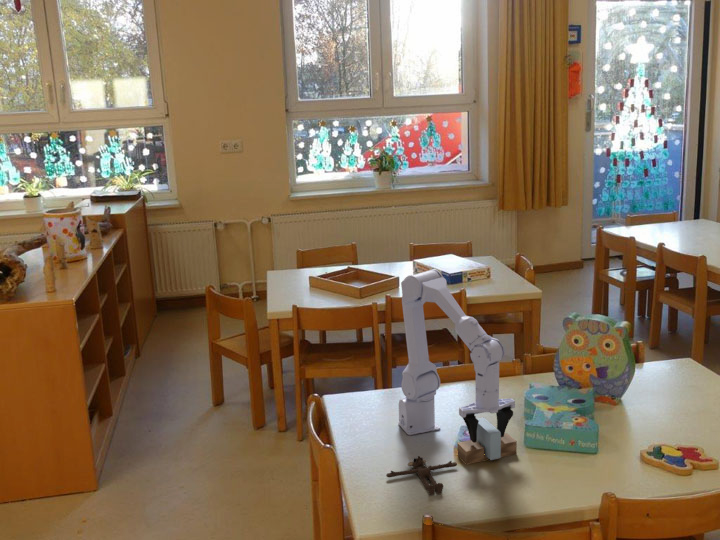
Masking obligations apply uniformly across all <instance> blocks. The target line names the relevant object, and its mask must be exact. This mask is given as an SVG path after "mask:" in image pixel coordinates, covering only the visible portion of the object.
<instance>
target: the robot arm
mask: <svg viewBox="0 0 720 540" xmlns="http://www.w3.org/2000/svg"><path fill="white" fill-rule="evenodd" d="M400 285H401V286H400V287H401V293H402V296H401V304H402V305H401V306H402V314H403V323H404V332H405V341H406V349H407V357H408V363H407V365H406V367H405V368H404V370H403V371H402V372H401V373H402V380H401V391H402V393H403V395H404V398H401V399H399V401H398V422H397V423H398V425H399V426H400V427H401V429H402V430H403V431H404V432H405V433H406V434H407V435H408V436H412V435H417V434H422V433H427V432H429V433H430V432H433V431H439V430H441V426H439V425H438V423H437V422H436V419H435V418H436V417H435V415H436V414H435V409H436V408H435V406H436V405H435V396H436V395H437V391H438V390H439V388H440V387H441V378H440V376H439V374H438V371H437V366H436V364H434V363H432V361H430V354H429V348H428V339H427V330H426V323H425V320H426V319H425V313H424V305H425V303H427V302H428V303H434V304H436V305H437V306H438V307H439V308H440V310H441V311H442V312H444V314H445V315H446V316H447V317H448V318H449V319H450V320H451V321H452V322H453V323H454V324H455V328H454V331H455V333H456V334H457V336H459V338H460V339H461V340H462V342H463V343H464V345H466V347H467V348H468V349H469V351H470V353H469V356H470V360H471V361H472V363H473V370H474V372H475V401H474V402H471V403H469V404H467V405H465V406H460V407H459V408H458V415H459V416H460V417H461V418H462V419H463V421H464V423H465V425H466V427H467V431H468V435H469V440H471V441H472V442H473V443H475V442H476V441H477V426H478V422H479V421H478V420H477V419H478V418H477V416H476V415H478V414H483V413H490V414H496V428H497V429H498V430H499V431H500V432H501V437H504V433H506V429H507V427H508V424H509V422H510V420H511V419H512V417H513V416H514V411H513V410H512V409H515V408H516V401H515V400H514V399H513V398H511V397H510V398H500V361H501V360H503V358H504V355H505V349H504V345H503V344H502V342H501V341H500V340H499V339H498V338H494V337H493V336H492V335H488V334H487V332H486V331H485V329H483V327H482V326H481V325H480V324H479V321H478V320H477V319H476V318H474V317H473V316H469V315H467V314H465V312H464V311H463V309H462V307H461V306H460V305H459V303H458V301H457V300H456V299H455V298H454V296H453V294H452V293H451V291H450V290H449V289H448V286H447V285H448V284H447V279H446V278H445V277H444V276H443V274H442V273H441V272H440V271H439V270H438V269H435V268H432V269H429V270H426V271H423V272H419V273H415V274H410V275H407V276H406V277H404V278H403V280H402V281H401V282H400Z"/></svg>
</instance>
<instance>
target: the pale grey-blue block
mask: <svg viewBox="0 0 720 540" xmlns="http://www.w3.org/2000/svg"><path fill="white" fill-rule="evenodd" d="M476 419H477V420H478V421H479V422H478V426H477V442H478V443H479V444H480V445H482V446H483V447H484V454H485V455H486V456H487V457H488V458H489V459H490V460H489V461H493V460H498V459H501V458H502V457H501V432H500V431H499V430H498V429H497V427H495V426H494V425H493V424H492V423H491V422H489V420H487V419H486V418H485V417H479V418H476Z"/></svg>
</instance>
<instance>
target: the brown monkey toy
mask: <svg viewBox="0 0 720 540" xmlns="http://www.w3.org/2000/svg"><path fill="white" fill-rule="evenodd" d="M426 463H427V461H426V460H425V459H424V458H423V457H421V455H418V456H417V457H416V458H413V460H412V461H411V462H410V461H409V462H408V463H407V466H409V467H412V468H413V469H408V470H407V469H406V470H401V471H394V470H390V472H389V473H386V475H385V476H386V478H395V477H399V476H406V475H414V474H417V475H418V477H419V479H420V480H421V482H422V483H423V485H424V488H425V489H426V490H427V493H428V495H429V496H434V495H435V492H436V494H437V495H441V494H442V493H443V490H444V484H443V483H442V482H438V483H437V481H436V480H435V479H434V477H433V475H432V471H436V470H441V469H446V468H454V467H457V466H458V464H457V462H455V461H454V462H452V460H449V462H447V463H444V464H443V463H442V464H437V465H428V466H426ZM428 479H429V481H430V483H431V484H430V483H429V481H428Z"/></svg>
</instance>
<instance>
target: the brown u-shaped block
mask: <svg viewBox="0 0 720 540" xmlns="http://www.w3.org/2000/svg"><path fill="white" fill-rule="evenodd" d="M517 444H518V443H517V440H516V439H515V438H513V437H512V436H511V435H510V434H508V433H507V432H505V433H504V437H501V458H503V457H510V456H513V455H517V453H518V451H517V449H518V448H517V447H518V446H517ZM456 445H457V451H458V455H457V457H459V459H460V458H461V459H462V460H463V461H464V462H465V463H466V464H465V463H464V462H463V461H462V462H463V463H464V464H465V465H470V463H471V464H475V463H479V462H485V461H488V460H487V459H489V458H488V457H487V456H486V455H484V447H483V446H482V445H480V444H479V443H478V442H477V441H476V442H475V443H473V442H472V441H471V440H470V439H468V440H465V441H464V440H463V441H460V442H457V444H456ZM461 459H460V460H461ZM484 460H485V461H484Z"/></svg>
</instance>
